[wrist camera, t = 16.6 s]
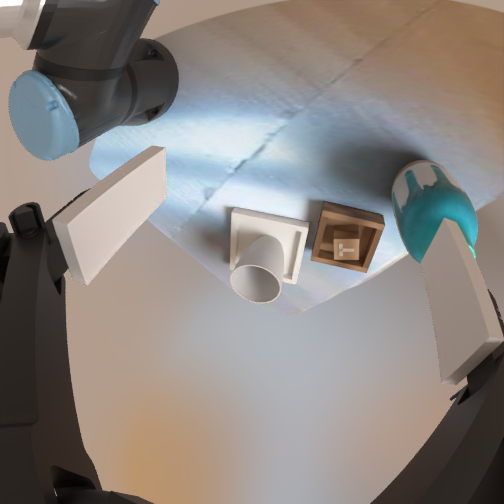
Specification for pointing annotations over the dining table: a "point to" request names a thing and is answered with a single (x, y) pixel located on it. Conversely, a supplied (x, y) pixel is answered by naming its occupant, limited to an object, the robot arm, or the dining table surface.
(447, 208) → the vase
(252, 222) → the tray
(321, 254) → the brown wooden tray
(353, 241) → the letter cube
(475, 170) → the dining table surface
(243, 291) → the cup
